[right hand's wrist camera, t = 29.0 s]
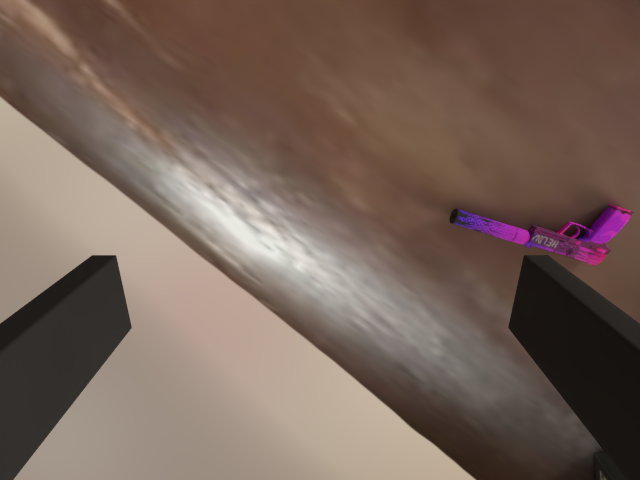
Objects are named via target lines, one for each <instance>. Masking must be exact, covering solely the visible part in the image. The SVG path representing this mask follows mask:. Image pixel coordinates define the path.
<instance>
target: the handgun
mask: <svg viewBox="0 0 640 480" xmlns="http://www.w3.org/2000/svg"><path fill="white" fill-rule="evenodd" d="M633 213H634V212H632V211H629V210H626V209H624V208H621V207H618V206H615V205H611V204H609V206H608V208H607V209H606V210H605V211H604V212H603V213H602V215H601V216H599V218H598V219H597V220H596V221H595V222H594V223H593V225H592V226H591V227H590V228H586V227H585V226H582V225H580V224H577V223H574V222H567V223H566V224H565V225H564V226H563V227H562V228H561V229H559V230H558V231H557V232H554V231H551V230H548V229H545V228H542V227H538V226H535V225H532V226H531V228H530V229H529V230H528V231H527V230H524V229H520V228H517V227H515V226H511V225H507V224H504V223H501V222H498V221H494V220H491V219H488V218H485V217H481V216H478V215H475V214H472V213H468V212H465V211H462V210H459V209H454V210H453V212H452V213H451V216H450V223H452V224H455V225H459V226H462V227H465V228H469V229H472V230H475V231H479V232H482V233H485V234H489V235H492V236H495V237H499V238H502V239H505V240H508V241H510V242H515V243H518V244H525V243H526V244H525V246H527V247H529V248H530V247H531V246H535V247H538V248H542V249H545V250H548V251H552V252H556V253H559V254H563V255H566V256H568V257H571V258H575V259H578V260H581V261H585V262H587V263H589V264H592V265H593V266H595V265H596V264H598V263H600V262H601V261H602V260H603V259H604V258H605V257H606V255H607V254H608V253H609V252H610V251H611V250H610V248H609V247H607V246H606V242H607V241H608V240H610V239H611V238H612V237H613V236H615V235H616V234H617V233H618V232H619V231H620V229H621V228H622V227H623V226H624V225H625V224H626V223H627V221H628V220H629V219H630V217H631V216H632V214H633ZM571 224H575V225H578V226H580V227H582V228H585V234H584V236H582V237H579V238H576V237H577V236H578V235H579V232H580V229H579V228H578V227H576V228H578V230H577V232H576V234H574V235H573V236H568V235H564V234H563V233H564V231H565V230H566V229H567V228H568V227H569V226H570V225H571Z"/></svg>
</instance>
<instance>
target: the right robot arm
mask: <svg viewBox="0 0 640 480" xmlns="http://www.w3.org/2000/svg"><path fill="white" fill-rule="evenodd" d="M508 328H509V329H510V331H511V332H512V333H513V334H514V336H515V337H516V338H517V339H518V341H519V342H520V343H521V345H522V346H523V347H524V348H525V350H526V351H527V352H528V354H529V355H530V356H531V357H532V359H533V360H534V361H535V363H536V364H537V365H538V366H539V368H540V369H541V370H542V372H543V373H544V374H545V375H546V377H547V378H548V379H549V381H550V382H551V383H552V384H553V386H554V387H555V388H556V389H557V391H558V392H559V393H560V395H561V396H562V397H563V398H564V400H565V401H566V402H567V404H568V405H569V406H570V407H571V409H572V410H573V411H574V413H575V414H576V415H577V416H578V418H579V419H580V420H581V422H582V423H583V424H584V425H585V427H586V428H587V429H588V431H589V432H590V433H591V434H592V436H593V437H594V438H595V439H596V441H597V442H598V443H599V445H600V446H601V447H602V448H603V450H604V451H605V452H606V454H607V455H608V456H609V457H610V459H611V460H612V461H613V463H614V464H615V465H616V466H617V468H618V469H619V470H620V472H621V473H622V474H623V475H624V477H625V478H626V479H627V480H640V324H639V323H638V322H637V321H635V320H634V319H633V318H631V317H630V316H629V315H627V314H626V313H625V312H623V311H622V310H621V309H619V308H618V307H616V306H615V305H614V304H612V303H611V302H610V301H608V300H607V299H606V298H604V297H603V296H602V295H600V294H599V293H598V292H596V291H595V290H594V289H592V288H591V287H590V286H588V285H587V284H586V283H584V282H583V281H581V280H580V279H579V278H577V277H576V276H575V275H573V274H572V273H571V272H569V271H568V270H567V269H565V268H564V267H563V266H561V265H560V264H559V263H557V262H556V261H555V260H553V259H552V258H551V257H549V256H548V255H524V258H523V262H522V267H521V272H520V276H519V281H518V286H517V290H516V295H515V299H514V304H513V309H512V313H511V318H510V323H509V327H508ZM130 329H131V323H130V318H129V313H128V309H127V304H126V299H125V295H124V290H123V286H122V281H121V276H120V272H119V267H118V262H117V258H116V256H115V255H112V256H111V255H107V256H106V255H104V256H101V255H93V256H91V257H89V258H88V259H87V260H86V261H84V262H83V263H81V264H80V265H79V266H77V267H76V268H75V269H73V270H72V271H71V272H69V273H68V274H67V275H65V276H64V277H63V278H61V279H60V280H59V281H57V282H56V283H55V284H53V285H52V286H50V287H49V288H48V289H46V290H45V291H44V292H42V293H41V294H40V295H38V296H37V297H36V298H34V299H33V300H32V301H30V302H29V303H28V304H26V305H25V306H24V307H22V308H21V309H19V310H18V311H17V312H15V313H14V314H13V315H12V316H10V317H9V318H7V319H6V320H5V321H3V322H2V323H1V324H0V480H13V479H14V478H15V477H16V475H17V474H18V473H19V472H20V470H21V469H22V468H23V466H24V465H25V464H26V463H27V461H28V460H29V459H30V457H31V456H32V455H33V454H34V452H35V451H36V450H37V448H38V447H39V446H40V445H41V443H42V442H43V441H44V439H45V438H46V437H47V436H48V434H49V433H50V432H51V430H52V429H53V428H54V427H55V425H56V424H57V423H58V422H59V420H60V419H61V418H62V416H63V415H64V414H65V413H66V411H67V410H68V409H69V407H70V406H71V405H72V404H73V402H74V401H75V400H76V398H77V397H78V396H79V395H80V393H81V392H82V391H83V389H84V388H85V387H86V386H87V384H88V383H89V382H90V380H91V379H92V378H93V377H94V375H95V374H96V373H97V372H98V370H99V369H100V368H101V366H102V365H103V364H104V363H105V361H106V360H107V359H108V357H109V356H110V355H111V354H112V352H113V351H114V350H115V348H116V347H117V346H118V345H119V343H120V342H121V341H122V339H123V338H124V337H125V336H126V334H127V333H128V332H129V330H130Z"/></svg>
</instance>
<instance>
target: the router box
mask: <svg viewBox="0 0 640 480" xmlns="http://www.w3.org/2000/svg"><path fill="white" fill-rule="evenodd" d="M594 459H595V476H596V480H627V479H626V478H625V477H624V475H623V474H622V473H621V472H620V470H619V469H618V468H617V466H616V465H615V464H614V463H613V461H612V460H611V459H610V457H609V456H608V455H607V454H606V452H603V453H600V454H595V458H594Z"/></svg>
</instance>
